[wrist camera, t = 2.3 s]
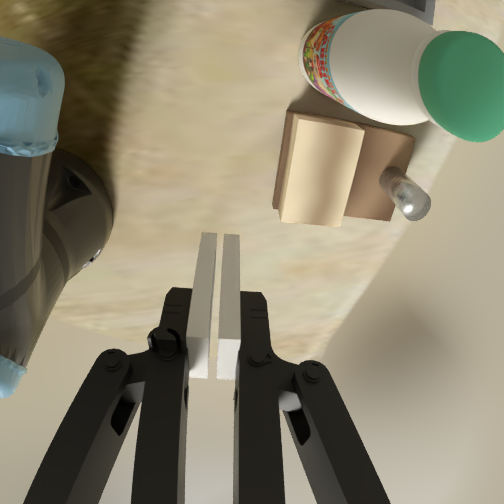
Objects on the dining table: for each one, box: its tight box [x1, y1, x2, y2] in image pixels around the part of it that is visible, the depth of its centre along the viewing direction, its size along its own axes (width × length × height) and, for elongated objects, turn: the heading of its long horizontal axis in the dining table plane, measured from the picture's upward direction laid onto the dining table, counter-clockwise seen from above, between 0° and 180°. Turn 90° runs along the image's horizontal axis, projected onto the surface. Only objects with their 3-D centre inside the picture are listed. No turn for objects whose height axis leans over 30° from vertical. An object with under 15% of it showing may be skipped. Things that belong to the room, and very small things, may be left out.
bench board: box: [272, 111, 416, 221], centre depth 30 cm, size 14×10×1 cm
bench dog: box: [379, 166, 431, 221], centre depth 28 cm, size 3×3×6 cm
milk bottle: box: [298, 9, 504, 142], centre depth 16 cm, size 8×8×20 cm
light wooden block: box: [278, 114, 365, 227], centre depth 29 cm, size 6×10×2 cm, turn 174°
